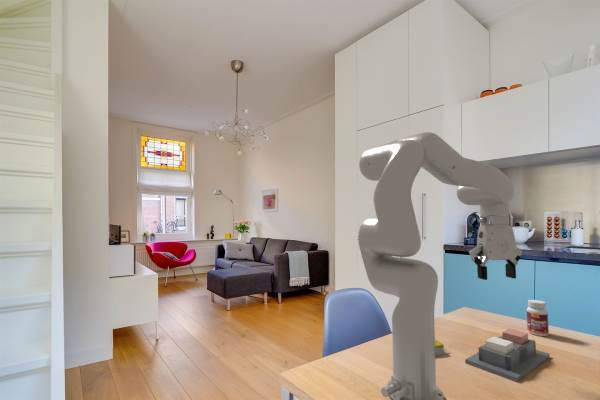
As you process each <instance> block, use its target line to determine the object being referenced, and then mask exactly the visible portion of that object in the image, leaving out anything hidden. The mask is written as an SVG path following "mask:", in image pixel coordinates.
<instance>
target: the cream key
mask: <svg viewBox="0 0 600 400" xmlns="http://www.w3.org/2000/svg"><path fill="white" fill-rule="evenodd" d="M485 344H486V349H489V350H492V351H495V352H498V353H502V354H505V355H508V354H509V353H511V352H512V351H513V342H511V341H508V340H504V339H500V338H498V337H497V336H492V337H490V338H488V339H486V340H485Z"/></svg>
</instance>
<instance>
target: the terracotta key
mask: <svg viewBox="0 0 600 400" xmlns="http://www.w3.org/2000/svg"><path fill="white" fill-rule="evenodd" d="M502 335H503V339H504V340H508V341H511V342H513V343H516V344H520V345H524V344H525V343H527V342H528V339H529V332H525V331H524V332H523V331H520V330H516V329H511V328H508V329H506V330H504V331H502V334H501V336H502Z"/></svg>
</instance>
